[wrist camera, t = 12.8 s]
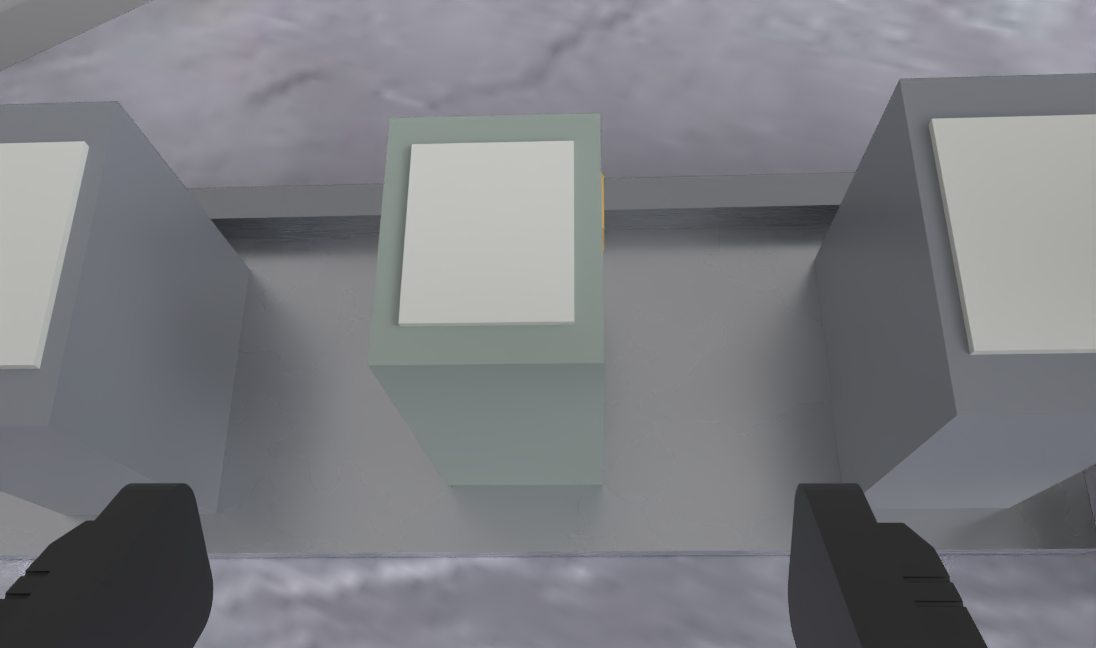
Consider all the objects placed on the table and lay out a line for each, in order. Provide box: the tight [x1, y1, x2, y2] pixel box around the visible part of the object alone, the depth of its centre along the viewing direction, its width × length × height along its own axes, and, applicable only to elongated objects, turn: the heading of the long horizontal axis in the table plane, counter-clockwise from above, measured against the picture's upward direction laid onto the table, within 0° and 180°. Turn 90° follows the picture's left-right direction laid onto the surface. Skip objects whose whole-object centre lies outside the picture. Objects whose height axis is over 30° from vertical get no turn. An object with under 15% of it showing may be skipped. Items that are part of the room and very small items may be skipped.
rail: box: [0, 172, 1096, 559], centre depth 25 cm, size 28×10×2 cm, turn 90°
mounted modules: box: [0, 73, 1096, 515], centre depth 21 cm, size 24×7×8 cm, turn 90°
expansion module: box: [368, 113, 604, 485], centre depth 21 cm, size 4×5×9 cm
